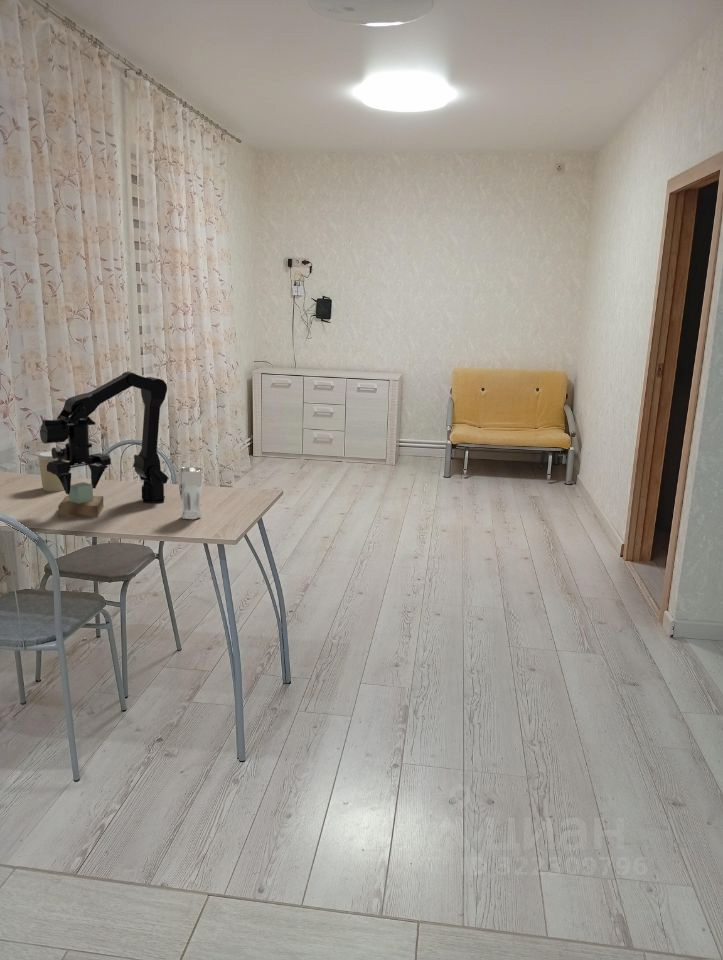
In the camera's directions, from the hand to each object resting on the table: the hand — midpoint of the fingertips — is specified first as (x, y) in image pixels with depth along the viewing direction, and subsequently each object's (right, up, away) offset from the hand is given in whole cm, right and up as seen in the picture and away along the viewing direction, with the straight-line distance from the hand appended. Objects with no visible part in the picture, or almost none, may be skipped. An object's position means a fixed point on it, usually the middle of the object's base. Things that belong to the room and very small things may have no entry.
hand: (80, 491), depth 227 cm
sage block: (0, -3, +1) cm, 3 cm away
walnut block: (0, -7, +2) cm, 7 cm away
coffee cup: (-18, 0, +26) cm, 32 cm away
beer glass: (+33, -8, +1) cm, 34 cm away
